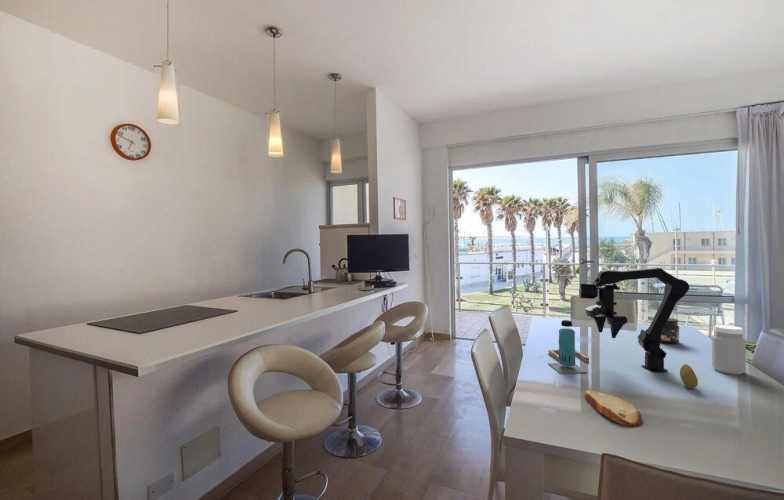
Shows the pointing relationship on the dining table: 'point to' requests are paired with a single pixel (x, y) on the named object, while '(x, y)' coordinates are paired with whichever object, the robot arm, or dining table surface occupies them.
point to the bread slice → (614, 408)
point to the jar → (729, 350)
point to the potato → (688, 376)
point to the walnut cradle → (556, 355)
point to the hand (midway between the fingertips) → (606, 335)
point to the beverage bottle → (567, 344)
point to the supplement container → (670, 332)
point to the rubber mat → (566, 368)
